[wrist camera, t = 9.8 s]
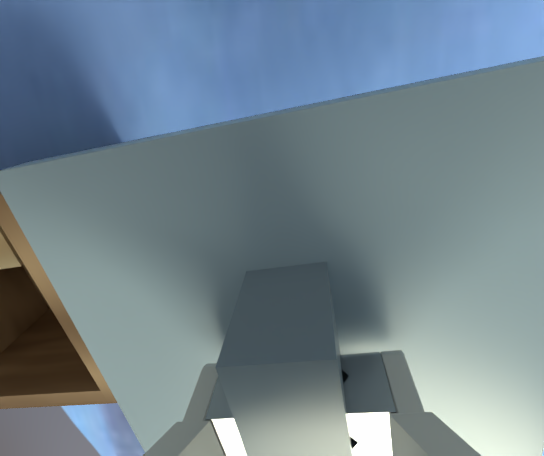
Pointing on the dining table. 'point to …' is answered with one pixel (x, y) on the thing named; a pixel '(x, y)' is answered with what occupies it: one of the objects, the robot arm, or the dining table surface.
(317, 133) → the lid
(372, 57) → the dining table surface
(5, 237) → the block
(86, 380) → the box
